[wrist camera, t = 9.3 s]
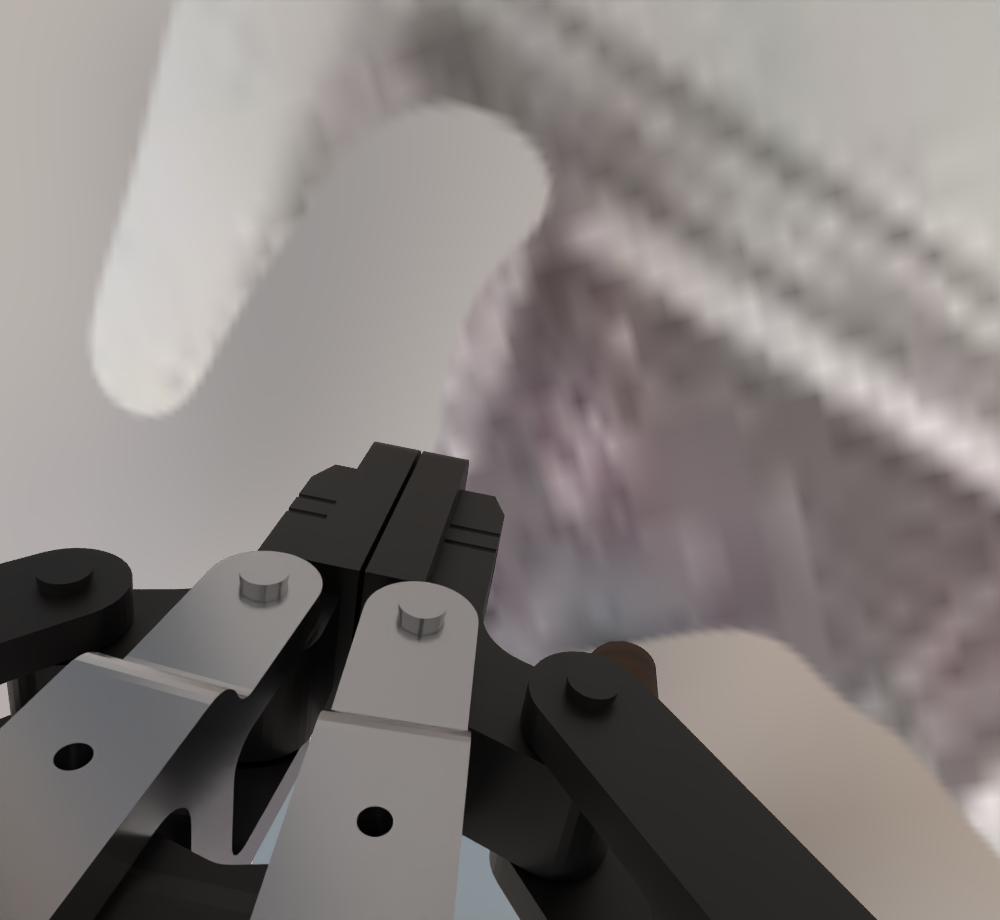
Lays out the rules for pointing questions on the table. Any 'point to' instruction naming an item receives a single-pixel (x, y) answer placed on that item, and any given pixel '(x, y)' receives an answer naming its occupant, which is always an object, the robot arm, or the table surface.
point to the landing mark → (478, 897)
